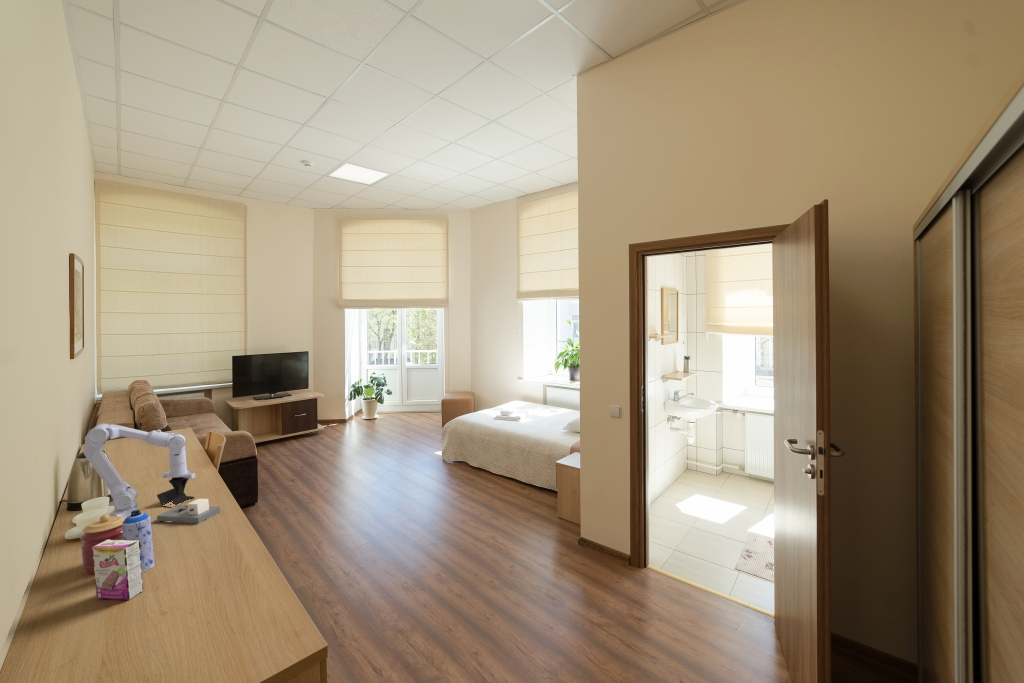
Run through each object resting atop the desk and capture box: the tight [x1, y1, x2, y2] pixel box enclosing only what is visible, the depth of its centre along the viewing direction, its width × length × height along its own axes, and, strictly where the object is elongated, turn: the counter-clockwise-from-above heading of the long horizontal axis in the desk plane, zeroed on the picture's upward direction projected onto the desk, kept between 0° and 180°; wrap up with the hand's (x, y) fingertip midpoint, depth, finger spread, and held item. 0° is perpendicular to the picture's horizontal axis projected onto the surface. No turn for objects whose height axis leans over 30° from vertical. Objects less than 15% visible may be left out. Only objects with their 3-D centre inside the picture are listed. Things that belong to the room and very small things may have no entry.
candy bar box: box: [92, 540, 144, 601], centre depth 136 cm, size 11×5×16 cm, turn 84°
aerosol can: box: [122, 509, 156, 573], centre depth 152 cm, size 8×8×20 cm
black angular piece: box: [156, 487, 195, 506], centre depth 210 cm, size 12×7×10 cm
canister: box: [79, 513, 126, 575], centre depth 155 cm, size 13×13×18 cm
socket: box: [156, 504, 221, 524], centre depth 193 cm, size 11×20×3 cm, turn 80°
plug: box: [187, 498, 210, 515], centre depth 191 cm, size 7×5×6 cm
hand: (180, 494), depth 193 cm, fingers closed
